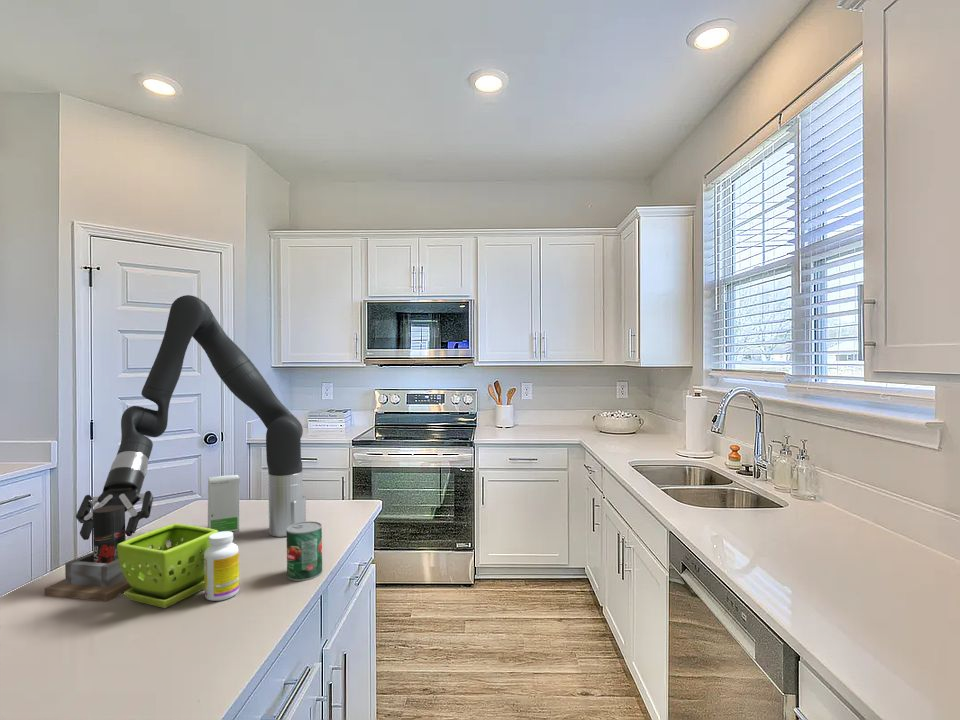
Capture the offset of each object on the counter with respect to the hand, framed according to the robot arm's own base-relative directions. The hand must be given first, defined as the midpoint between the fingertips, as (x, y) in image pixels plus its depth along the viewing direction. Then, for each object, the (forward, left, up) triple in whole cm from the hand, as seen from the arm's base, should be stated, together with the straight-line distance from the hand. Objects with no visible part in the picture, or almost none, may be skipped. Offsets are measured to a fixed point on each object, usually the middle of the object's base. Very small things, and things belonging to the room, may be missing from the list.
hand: (106, 536), depth 115 cm
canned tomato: (-41, -13, -11) cm, 45 cm away
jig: (0, -4, -11) cm, 11 cm away
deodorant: (+1, -1, -9) cm, 9 cm away
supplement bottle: (-30, 0, -11) cm, 31 cm away
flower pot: (-19, +2, -11) cm, 22 cm away
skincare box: (-2, -36, -11) cm, 38 cm away
